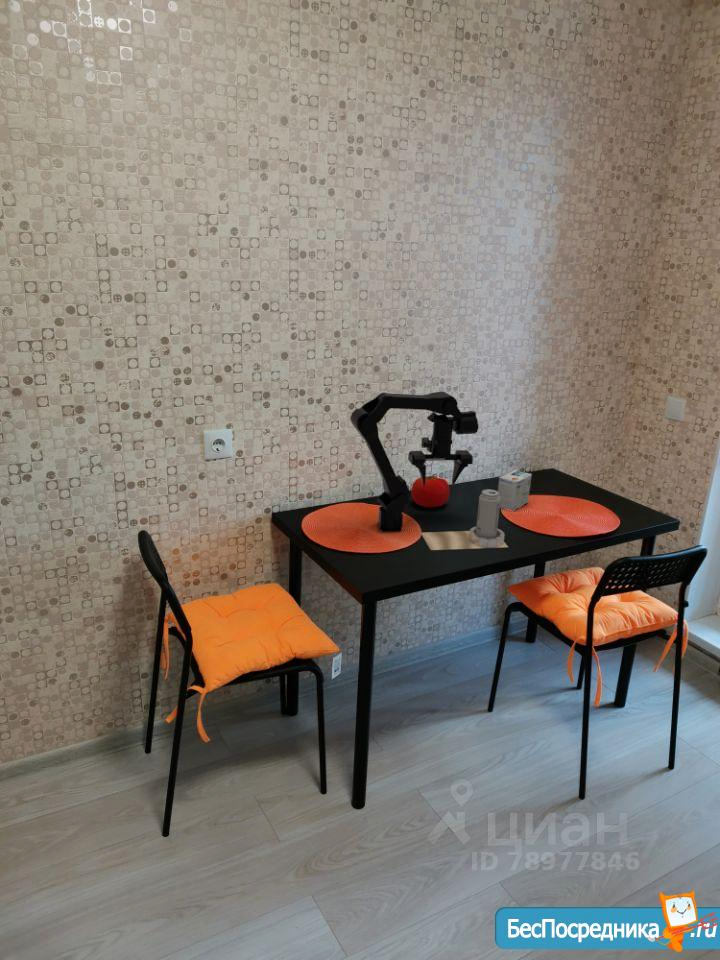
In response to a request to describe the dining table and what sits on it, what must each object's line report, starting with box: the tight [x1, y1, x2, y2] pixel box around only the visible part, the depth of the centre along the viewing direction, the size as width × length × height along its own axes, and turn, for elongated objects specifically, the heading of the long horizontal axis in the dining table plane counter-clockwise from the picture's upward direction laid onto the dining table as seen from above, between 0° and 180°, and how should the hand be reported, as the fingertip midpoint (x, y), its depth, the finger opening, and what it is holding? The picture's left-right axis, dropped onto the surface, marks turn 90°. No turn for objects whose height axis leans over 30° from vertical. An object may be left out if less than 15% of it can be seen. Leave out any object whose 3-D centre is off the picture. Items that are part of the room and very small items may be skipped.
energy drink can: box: [475, 488, 501, 538], centre depth 212 cm, size 6×6×15 cm
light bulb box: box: [497, 469, 533, 512], centre depth 243 cm, size 11×7×11 cm, turn 141°
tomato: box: [410, 474, 451, 508], centre depth 241 cm, size 11×13×10 cm
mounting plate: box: [420, 530, 509, 551], centre depth 215 cm, size 23×12×1 cm, turn 100°
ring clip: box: [469, 526, 505, 549], centre depth 214 cm, size 10×10×2 cm
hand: (438, 484), depth 224 cm, fingers open, 9 cm apart
